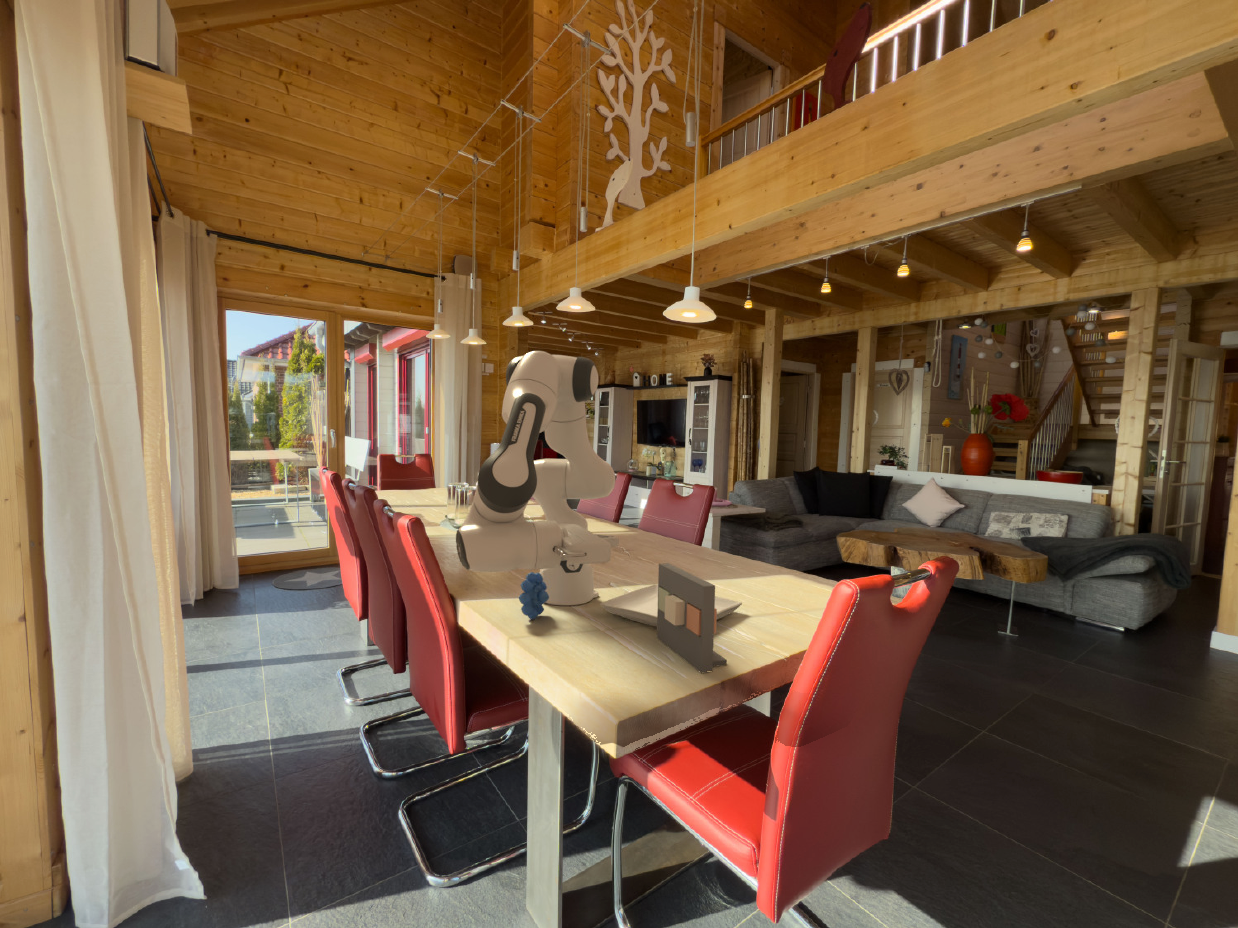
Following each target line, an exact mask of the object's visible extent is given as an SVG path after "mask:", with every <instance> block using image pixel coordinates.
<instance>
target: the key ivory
mask: <svg viewBox="0 0 1238 928" xmlns="http://www.w3.org/2000/svg"><path fill="white" fill-rule="evenodd" d="M665 619H666V620H668V621H669V622H671V623H672V624H673V625H675V626H676V625H684V621H685V600H683V599H682V598H680V597H678V596H677V595H671V596H665Z"/></svg>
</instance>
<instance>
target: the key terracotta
mask: <svg viewBox="0 0 1238 928" xmlns="http://www.w3.org/2000/svg"><path fill="white" fill-rule="evenodd" d="M717 620H718V619H717V609H715V608H714V635H716V634H717ZM686 628H688V629H689V630H691V631H692V632H694V633H695V634H697V635H698V636H699V635H701V610H700V609H699V608H697V607H695V606H694V605H692V604H687V626H686Z"/></svg>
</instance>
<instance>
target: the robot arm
mask: <svg viewBox="0 0 1238 928" xmlns="http://www.w3.org/2000/svg"><path fill="white" fill-rule="evenodd" d="M505 370H506V372H505V384H506V388H505V389H506V390H505V393H504V397H503V401H502V407H501V417H502V419H503V421H504V423H505V424H506V425H505V428H504V432H503V434H502V437H501V440H500V443H499V446H498V447H497V449H496V450H495V451H493V452H492V454H491V455H490V456H489V457H488V458H486V459H485V461H484V462H483V463H482V464H481V466H480V468H479V471H478V474H477V484H476V489H475V493H474V496H473V500H472V503H471V504H470V505H471V506H470V508H469V510H468V513H467V515H466V518H465V519H464V521H463V523H462V524H461V526H460V527H459V528H458V529H457V530H456V534H455V543H456V544H455V545H456V550H457V551H456V552H457V555H458V559H459V561H460V563H461V565H462V567H464V568H465V569H466V570H468V571H471V572H476V573H477V572H478V573H505V572H512V571H514V570H518V569H525V570H529V571H533V570H539V573H540V574H541V575H542V577H543V582H545V584H546V586H547V589H546V590H545V591H546V592H547V593H548V595H549V599H548V600H547V601H546V602H545V603H544V604H549V605H554V606H555V605H556V606H574V605H575V606H576V605H577V606H578V605H582V604H586V603H588V602H591V601H592V600H593V599H594V598H597V597H599V594H600V593H599V591H597V590H595V585H594V584H595V583H594V580H595V579H594V568H593V566H592V565H593V564H606V563H609V562H610V561H611V556H612V548H617V547H619V545H620V539H619V537H617V536H616V535H613V534H598V533H593V532H591V531H590V530H588V529H589V528H588V527H589V526H588V521H587V519H586V517H585V516H583V515H582V514H581V513H580V512H577V511H576V510H574V509H572V508H571V507H570V506H569V504H568V502H567V500H569V499H572V500H596V499H601V498H607V497H608V496H610V495H611V493H612V492H613V490H614V489H615V486H616V485H615V484H616V474H615V471H614V468H613V467H612V466H611V464H610V463H608V462H607V461H605V460H604V459H603V458H602V457H600V456H599V455H598V454H597V452H595V449H594V448H593V447H592V445H591V443H590V439H589V435H588V428H587V426H588V425H587V412H586V403H585V402H587V401H590V400H591V399H592V398H593V397H594V396H595V394H596V392H597V389H598V385H599V373H598V370H597V366H596V364H595V363H594V362H593V360H592V359H590V358H586V357H584V356H583V357H582V356H570V355H569V356H568V355H563V354H551V353H548V352H547V351H543V350H532V351H530V352H529V351H528V352H527V353H526V354H523V355H520V356H516V357H514V358H513V359H511V360H510V361H509V362H508V364H507V367H506V369H505ZM542 432H543V433H544V438H545V441H546V444H547V445H548V446H549V448H550V449H551V450H553V451H554V452H556V453H558V454H560V455H562V456H563V457H564V458H540V459H536V460H535V459H534V458H535V457H534V455H535V451H536V447H537V443H538V440H539V436H540V433H542ZM531 498H533V499H534V501H536V502H537V503H538V505H539V506H540V508H541V509H542V512H543V514H544V516H545V517H544V518H545V520H535V521H529V520H526V519H525V509H526V508H527V505H528V503H529V502H530V500H531Z"/></svg>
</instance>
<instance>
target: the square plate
mask: <svg viewBox="0 0 1238 928" xmlns="http://www.w3.org/2000/svg"><path fill="white" fill-rule="evenodd" d="M742 604H743V603H742V602H741V601H738V600H734V599H729V598H725V597H721V596H717V595H715V609H717V620H719V619H721V618H724V617H726V616H728V615H730V614H732V613H733V612H735V611H736V610H738V609H739V608H740V607H741V606H742ZM599 606H601V607H602V608H603V609H604V610H605V611H606V612H609V613H611V614H613V615H617V616H620V617H623V618H625V620H626V619H627V620H629V619H630V620H629V621H633V622H637V623H640V624H645V625H648V624H649V626H651V627H655V628H657V612H658V583H655V584H652V585H648V586H644V587H641V588H638V589H636V590H635V589H634V590H633V591H630V592H627V593H623V594H621V595H618V596H615V597H612V598H610V599H608V600H606V601H603V602H600V603H599Z"/></svg>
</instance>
